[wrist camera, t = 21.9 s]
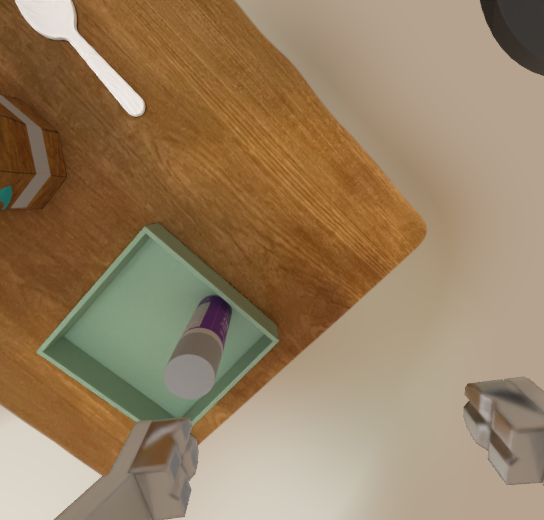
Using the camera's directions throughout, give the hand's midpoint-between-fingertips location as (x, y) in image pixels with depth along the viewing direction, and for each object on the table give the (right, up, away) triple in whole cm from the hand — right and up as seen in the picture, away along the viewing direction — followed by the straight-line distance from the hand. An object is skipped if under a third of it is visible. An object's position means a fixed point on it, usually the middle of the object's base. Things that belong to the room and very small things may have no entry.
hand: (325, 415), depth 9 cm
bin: (-16, -5, +33) cm, 37 cm away
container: (-9, -2, +32) cm, 33 cm away
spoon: (-23, +29, +25) cm, 44 cm away
